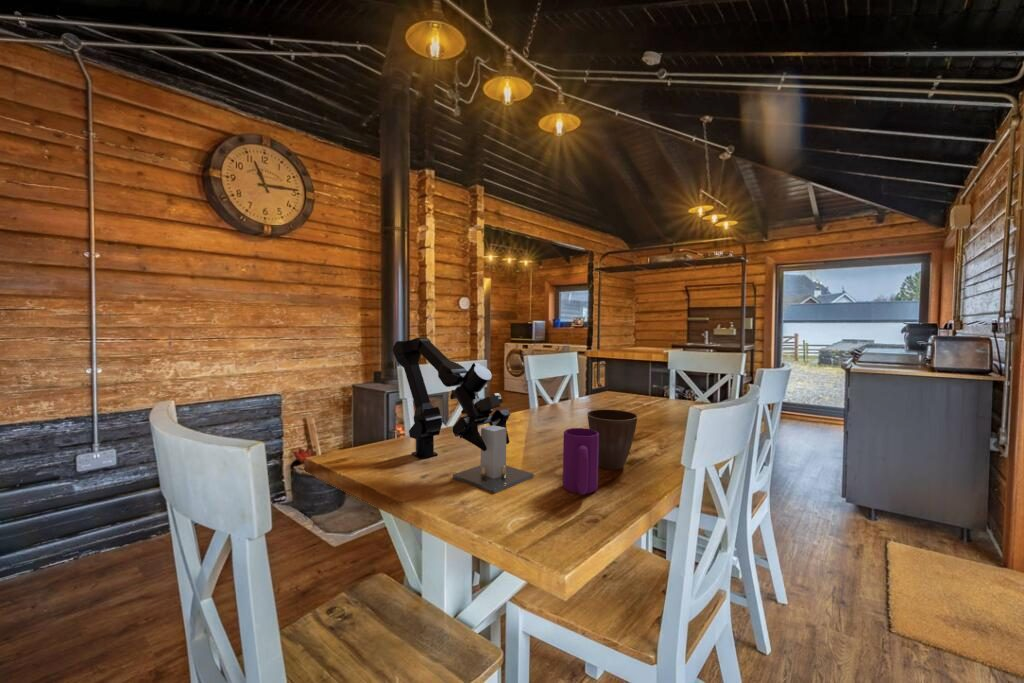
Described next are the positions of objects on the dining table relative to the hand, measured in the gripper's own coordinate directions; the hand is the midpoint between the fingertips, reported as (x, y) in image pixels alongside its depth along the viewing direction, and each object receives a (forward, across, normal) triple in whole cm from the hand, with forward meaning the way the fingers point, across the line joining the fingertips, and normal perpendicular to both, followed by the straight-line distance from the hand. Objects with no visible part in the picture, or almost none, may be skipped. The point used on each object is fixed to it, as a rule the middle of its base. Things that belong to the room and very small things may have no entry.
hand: (497, 446), depth 121 cm
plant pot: (+19, +32, -6) cm, 38 cm away
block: (+5, 0, +7) cm, 8 cm away
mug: (+22, +8, -9) cm, 26 cm away
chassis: (+5, 0, +7) cm, 9 cm away
